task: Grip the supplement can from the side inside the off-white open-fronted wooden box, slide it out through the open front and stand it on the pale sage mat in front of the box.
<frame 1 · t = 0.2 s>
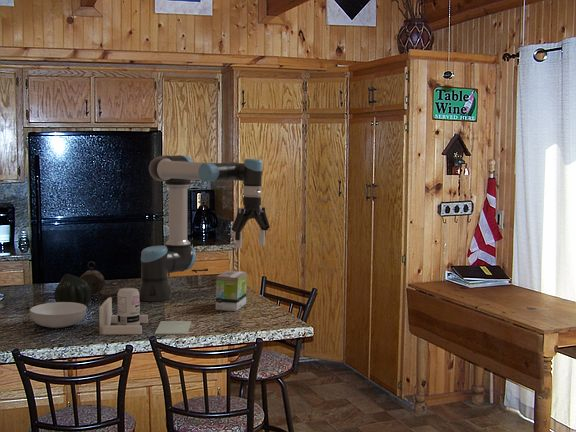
hand: (250, 246, 297), 28 cm above the kitchen island, tool pointing down, fingers open, 13 cm apart
serving bowl: (59, 325, 274), on the kitchen island
squash: (72, 307, 304), on the kitchen island
tea box: (231, 307, 308), on the kitchen island
supplement can: (128, 328, 271), resting in open box
sage mat: (173, 328, 272), on the kitchen island
open box: (128, 328, 271), on the kitchen island
alarm clock: (91, 296, 325), on the kitchen island
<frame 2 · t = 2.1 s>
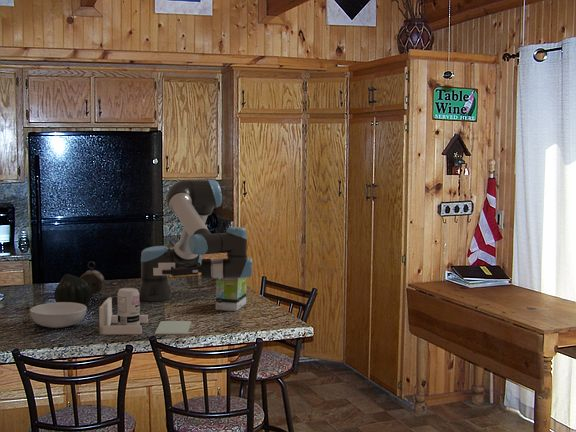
hand: (155, 269, 270), 23 cm above the kitchen island, tool horizontal, fingers open, 13 cm apart
nothing on the kitchen island moved.
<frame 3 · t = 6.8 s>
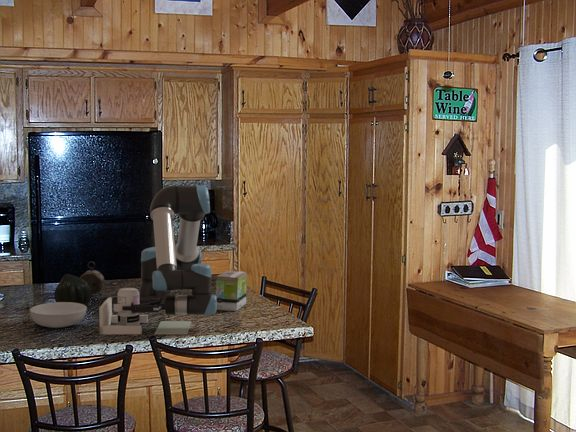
hand: (116, 305, 270), 9 cm above the kitchen island, tool horizontal, fingers closed on supplement can, 8 cm apart
supplement can: (128, 328, 271), resting in open box, touching gripper
everything else where it was.
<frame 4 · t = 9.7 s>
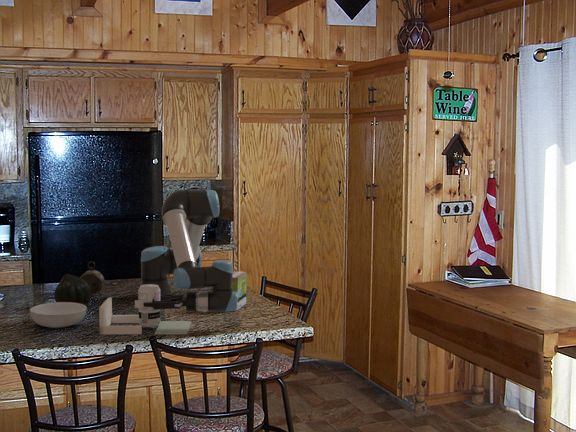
hand: (137, 301, 269), 11 cm above the kitchen island, tool horizontal, fingers closed on supplement can, 8 cm apart
supplement can: (149, 325, 270), point 1 cm above the kitchen island, touching gripper
everything else where it was.
when the fingers open (10 cm above the kitchen island, at t = 12.5 s): supplement can stays where it is, resting on sage mat.
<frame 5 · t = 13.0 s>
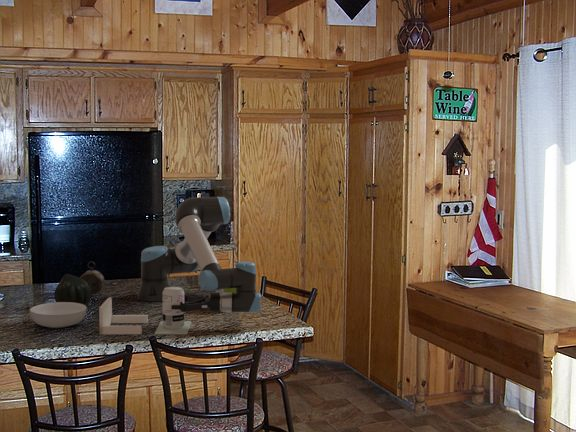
hand: (164, 302, 270), 10 cm above the kitchen island, tool horizontal, fingers open, 13 cm apart
supplement can: (173, 327, 272), resting on sage mat
everything else where it was.
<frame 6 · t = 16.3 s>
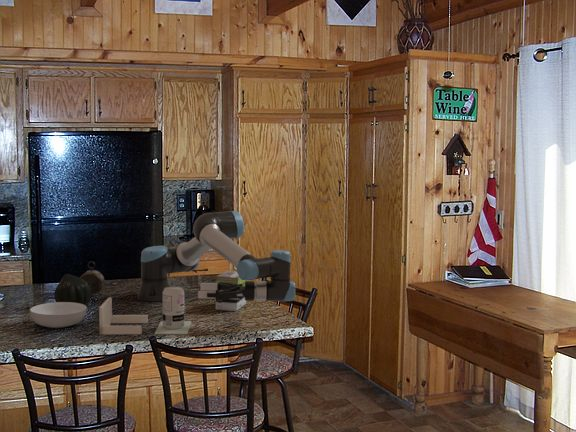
hand: (199, 290, 271), 15 cm above the kitchen island, tool horizontal, fingers open, 13 cm apart
nothing on the kitchen island moved.
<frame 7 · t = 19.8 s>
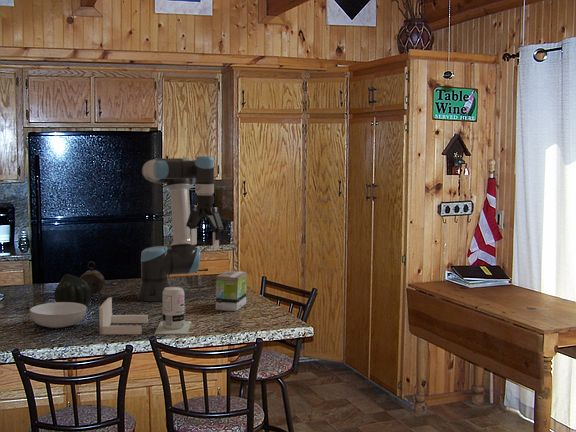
hand: (204, 246, 290), 29 cm above the kitchen island, tool pointing down, fingers open, 13 cm apart
nothing on the kitchen island moved.
at the end: supplement can inside the target area on the sage mat (0.0 cm from its centre), point 0.2 cm above the sage mat's base; supplement can tilted 0°; the gripper is holding nothing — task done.
